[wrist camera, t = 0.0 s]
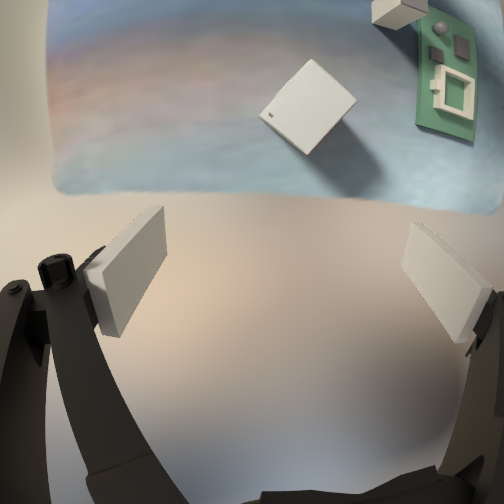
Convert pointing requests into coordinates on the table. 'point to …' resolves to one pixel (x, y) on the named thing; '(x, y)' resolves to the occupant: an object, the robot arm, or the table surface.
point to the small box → (308, 107)
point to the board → (446, 75)
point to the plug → (397, 12)
